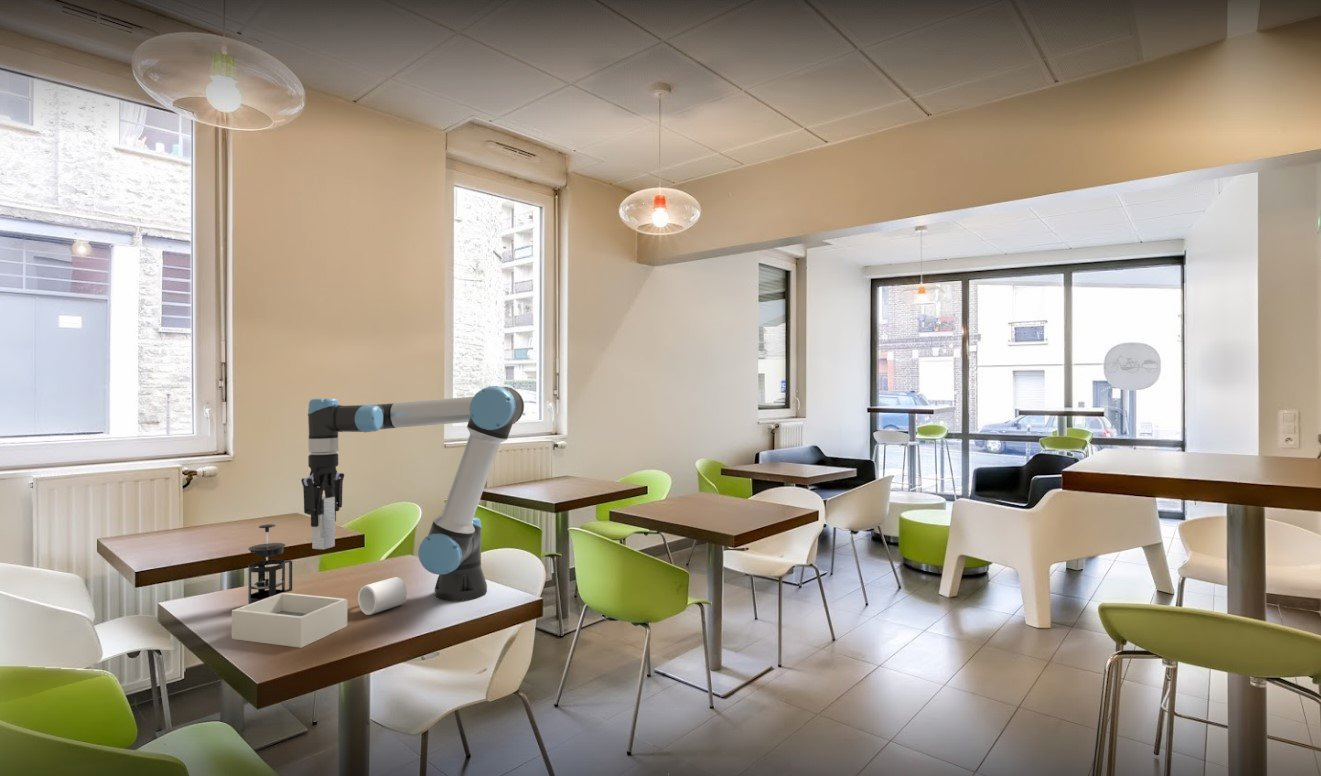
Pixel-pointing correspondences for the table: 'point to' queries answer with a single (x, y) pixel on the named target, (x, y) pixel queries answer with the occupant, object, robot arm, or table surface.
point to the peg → (326, 524)
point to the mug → (382, 595)
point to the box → (289, 619)
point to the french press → (267, 570)
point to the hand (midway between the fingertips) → (323, 536)
